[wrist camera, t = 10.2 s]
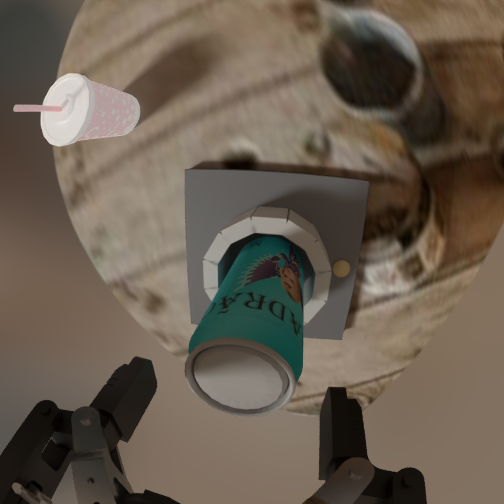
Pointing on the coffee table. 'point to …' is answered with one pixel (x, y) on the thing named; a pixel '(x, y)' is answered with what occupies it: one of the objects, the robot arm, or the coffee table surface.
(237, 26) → the coffee table surface
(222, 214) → the mount plate
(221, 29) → the coffee table surface
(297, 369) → the beverage can
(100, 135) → the beverage cup
